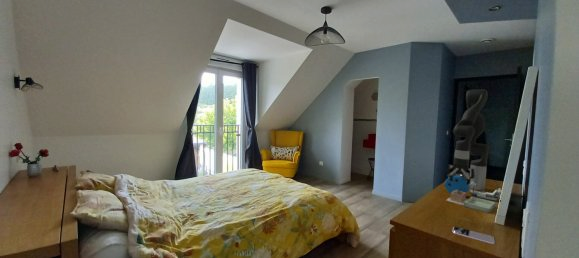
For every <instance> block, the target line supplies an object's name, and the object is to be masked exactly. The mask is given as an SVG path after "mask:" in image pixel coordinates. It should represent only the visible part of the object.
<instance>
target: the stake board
mask: <svg viewBox="0 0 579 258" xmlns="http://www.w3.org/2000/svg"><path fill="white" fill-rule="evenodd" d="M456 194H459V195H460V190H456ZM468 199H469V198H466V200H464V201H463V202H462V203H460V202H456V201H452V200H450V197H448V198H447V199H446V200H445V201H446V202H449V203H451V204H452V203H453V204H457V205H460V206H464V202H465V201H467V200H468Z"/></svg>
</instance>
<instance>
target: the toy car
mask: <svg viewBox="0 0 579 258" xmlns="http://www.w3.org/2000/svg"><path fill="white" fill-rule="evenodd" d="M475 185H476V184H475V183H474V182H471V183H470V187H473V189H469V194H471V197H475V198H480V199H484V200H489V201H494V202H495V201H496V203H499V199H500V194H501V195H502V190H501V189H502V188H497V189H495V190H494V191H493V192H487V191H486V190H481V191H479V190H476V189H474V186H475Z"/></svg>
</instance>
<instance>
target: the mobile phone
mask: <svg viewBox="0 0 579 258" xmlns="http://www.w3.org/2000/svg"><path fill="white" fill-rule="evenodd" d="M452 233H453V234H455V235H459V236H462V237H464V238H465V237H466V238H469V239H473V240H477V241H481V242H484V243H488V244H490V245H491V244H492V245H495V238H494V236H492V235H489V234H485V233H481V232H478V231H475V230H470V229H466V228H462V227H460V226H453V227H452Z"/></svg>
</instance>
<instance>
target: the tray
mask: <svg viewBox="0 0 579 258" xmlns="http://www.w3.org/2000/svg"><path fill="white" fill-rule="evenodd" d="M467 199H468V200H467V201H465V202H464V205H463V207H465V208H468V209H472V210H476V211H479V212H483V213H487V214H489V213H491V212H492V210H493V209H494V208H495V207H496V202H495V201H493V200H489V199H485V198H480V197H477V198H475V197H472V196H471V197H469V198H467Z"/></svg>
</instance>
